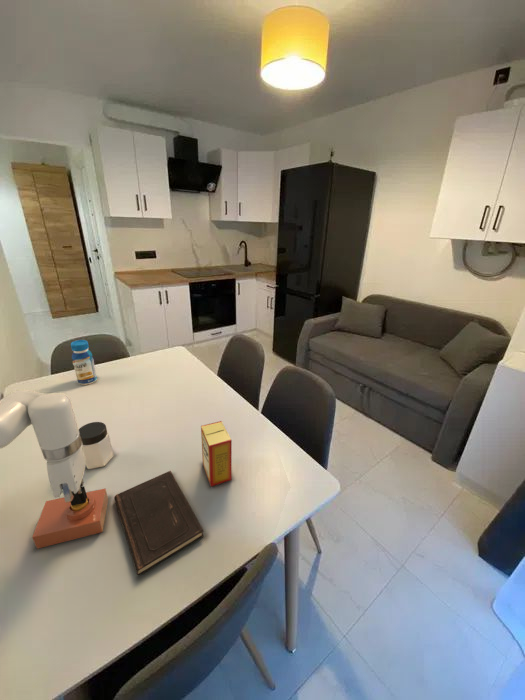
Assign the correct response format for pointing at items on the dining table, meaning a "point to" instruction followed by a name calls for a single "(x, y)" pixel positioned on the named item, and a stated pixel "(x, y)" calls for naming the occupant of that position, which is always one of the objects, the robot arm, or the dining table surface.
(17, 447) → the dining table surface
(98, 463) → the jar
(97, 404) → the dining table surface
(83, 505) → the yellow push button
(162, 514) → the hardcover book
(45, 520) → the push button box
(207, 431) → the baking soda box
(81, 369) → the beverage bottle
